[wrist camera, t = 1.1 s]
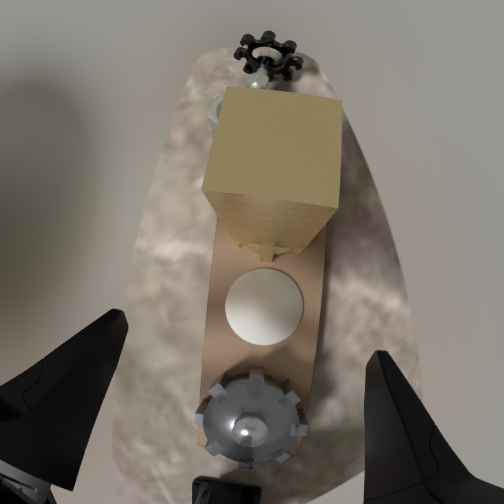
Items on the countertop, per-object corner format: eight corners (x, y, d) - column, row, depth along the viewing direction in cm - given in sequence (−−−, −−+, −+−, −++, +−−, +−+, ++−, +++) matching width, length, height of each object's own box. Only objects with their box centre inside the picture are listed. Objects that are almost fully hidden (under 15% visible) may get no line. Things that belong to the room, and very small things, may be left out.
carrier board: (297, 450, 20) (298, 457, 19) (199, 440, 21) (196, 446, 20) (325, 183, 24) (328, 178, 22) (225, 175, 24) (223, 169, 23)
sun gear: (295, 453, 19) (299, 478, 15) (200, 443, 20) (190, 467, 16) (309, 369, 20) (318, 384, 17) (206, 359, 21) (193, 372, 17)
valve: (272, 181, 24) (300, 82, 25) (274, 143, 17) (307, 37, 19) (199, 165, 24) (239, 71, 26) (180, 126, 18) (233, 26, 19)
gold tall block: (311, 268, 22) (362, 239, 10) (220, 255, 22) (170, 212, 10) (320, 183, 23) (362, 89, 11) (235, 171, 23) (209, 71, 11)
